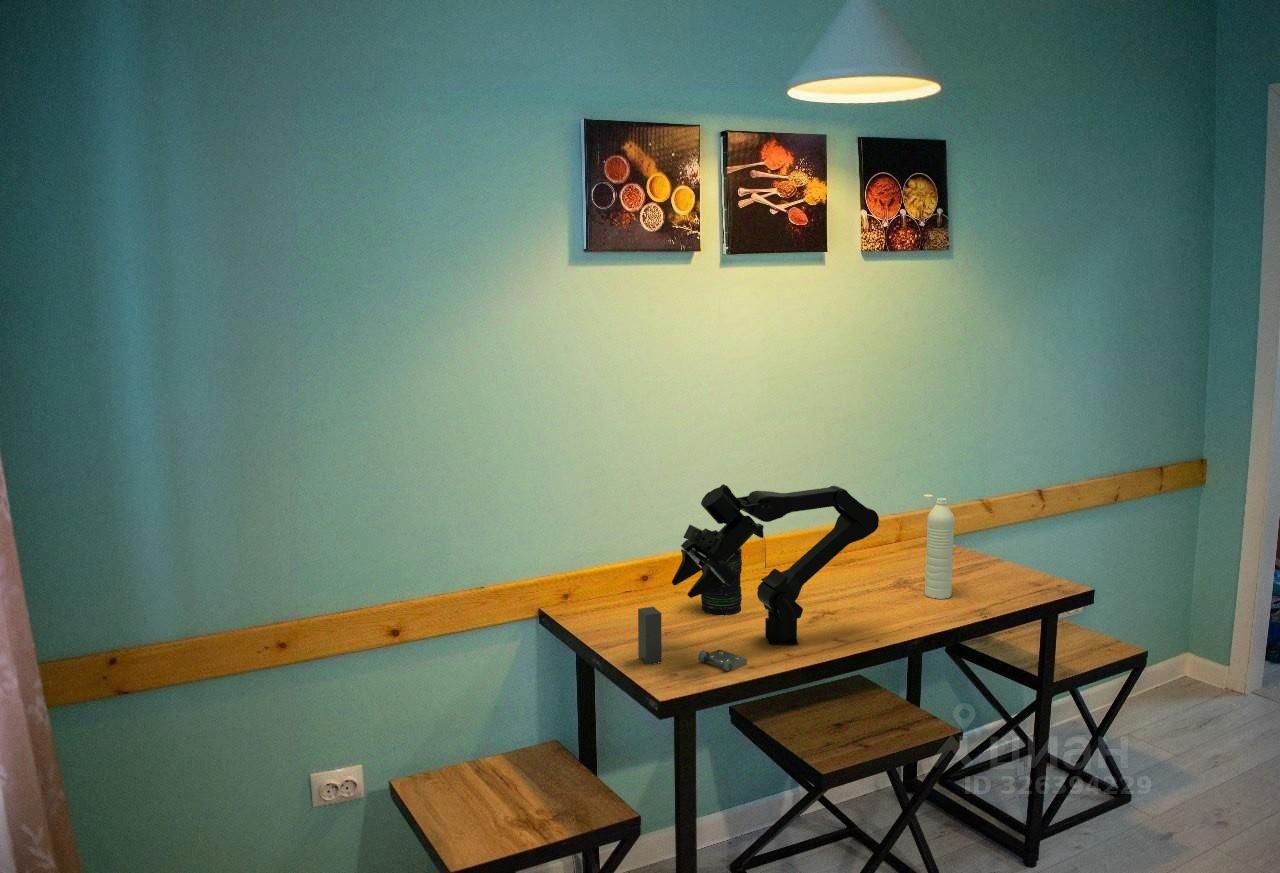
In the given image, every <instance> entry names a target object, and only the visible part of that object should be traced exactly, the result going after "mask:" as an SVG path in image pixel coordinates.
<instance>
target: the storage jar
mask: <svg viewBox="0 0 1280 873" xmlns="http://www.w3.org/2000/svg"><path fill="white" fill-rule="evenodd" d="M738 551H739V552H740V554H739V555H738V556H736V555H733V556H732V557H731V558H730V559H729V560H728V561H727V562H726V563H727V564H728V566H729V567H730V568H731V569H732V570H733V571H734V572H735V573H736V581H735V582H734V583H733V584H732V585H731V586H729V585H727V584H726V583H724V584H725V585H726V586H725V587H720V588H717V589H714V590H711V591H708V592H705V593H703V594H700V600H701V611H702V610H703V611H704V612H703V611H702V612H703V613H704V614H707V613H708V614H707V615H710V614H712V615H711V616H716V615H724V616H723V617H725V615H729V616H733V615H734V616H735V615H737V614H739V613H741V611H742V600H743V595H742V587H741V574H742V570H743V568H742V566H743V559H742V554H743V553H742V551H743V549H742V547H740V549H739V550H738ZM706 566H707V565H706ZM708 567H709V566H708ZM701 568H702V570H701V573H702V574H703V567H701ZM709 568H710V567H709Z"/></svg>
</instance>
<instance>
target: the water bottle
mask: <svg viewBox="0 0 1280 873" xmlns="http://www.w3.org/2000/svg"><path fill="white" fill-rule="evenodd" d="M922 499H923V500H924V501H925V500H926V501H932V500H934V495H933V494H923V495H922ZM935 503H936V504H935V505H934V507H933V508H932V509H931V511H930V512H929V513H928V515H927V528H926V529H927V530H926V531H927V532H926V533H927V534H926V550H925V551H926V556H925V562H926V563H925V579H924V581H925V582H924V583H925V585H924V595H925V596H926V597H927V598H931V599H935V598H936V599H937V600H944V599H946V598H947V599H949V598H951V597H952V591H953V590H952V584H953V579H952V578H953V563H954V562H953V561H954V557H953V556H954V537H955V536H954V535H955V534H954V533H955V516H954V514H953V512H952V510H951V509H950V507H949V506H948V502H947V498H944V497H938V498H936V502H935Z"/></svg>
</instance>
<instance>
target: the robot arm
mask: <svg viewBox="0 0 1280 873" xmlns="http://www.w3.org/2000/svg"><path fill="white" fill-rule="evenodd" d="M700 505H701V506H702V508H704V510H705V511H706V512H707V513H708V514H709V515H710V517H711V518H712V519H713V520H714V521H715V522H716V523H717V524H718V525H722V524H724V526H723V527H722V528H721V529H719V530H716V529H715V530H709V529H708V528H706V527H705V528H704V529H700V528H699V527H696V526H694V525H692V524H689V525H688V527H687V529H686V531H685V533H684V535H683V539H686V540H684V541H683V543H682V544H681V545H680V547H681V550H680V552H681V558H682V559H681V562H680V564H679V566H678V568H677V571H676V572H675V574H674V577H673V578H672V581H671V584H672V585H673V586H677V585H679V584H681V583H682V582H684V581H686V580H688V579H689V578H691V577H693V576H694V575H696V574H698V573H700V572H702V567H703V573H702V574H701V576H700V577H699V578H698V579H697V580H696V582H695V583H694V584H693V586H692V587H691V589H689V591H688V593H687V596H688V597H689V598H690V599H692V598H695V597H697V596H699V595H700V596H701V594H703V593H705V592H708V591H711V590H714V589H717V588H720V587H725V586H726V585H725V584H724V583H726V584H727V585H729V586H731V585H732V584H733V583H734V582H735V581H736V573H735V572H734V571H733V570H732V569H731V568H730V567H729V566H728V564H727V563H726V562H727V561H728V560H729V559H730V558H731V557H732V556H733V555H736V556H738V555H739V554H740V552H739V551H738V550H739V549H740V548H742V547H743V545H744V544H745V543H746V542H747V541H748V540H749V539H751V537H753V535H755V536H756V537H758V538H760V539H763V538H764V537H765V534H764V527H765V526H764V524H761V523H759V522H758V523H756V522H755V520H754V518H755V519H757V520H759V521H760V522H763V523H764V522H765V523H769V522H770V523H771V522H773V521H775V520H778V519H782V518H784V517H785V516H786V515H788V514H791V513H794V512H803V511H810V510H816V509H824V508H831V507H833V509H834V510H835V511H836V513H838V514H839V516H838V517H837V518H836V522H835V524H834V526H833V528H832V530H831V531H829V532H828V533H827V534H826V535H825V536H824V537H822V538H821V539H820V540H819V541H818V542H817V543H816V544H815V545H813V546H812V547H811V548H810V549H809V550H807V551H806V552H805V553H804V554H803V555H802V556H801V557H800V558H799V559H797V561H795V562H794V564H792V565H791V566H790V567H789V568H788V569H786V570H783V571H780V570H779V569H776V568H774V569H771V571H770V572H769V573H768V574H767V576H765V577H763V578H760V580H761V582H760V583H759V585H758V586H757V595H756V596H757V599H758V601H759V602H760V603H762V604H763V607H764V609H765V610H767V617H765V619H764V624H765V625H764V637H765V639H766V640H767V644H769V645H784V646H785V645H786V646H787V645H788V646H789V645H790V646H791V645H792V646H793V645H794V646H796V645H799V641H798V619H800V618H801V617H802V614H803V612H804V608H803V607H802V606H801V605H800V604H799V603H798V602H797V599H798V598H799V597H800V596H799V595H800V593H801V590H802V588H803V586H805V584H806V583H807V582H808V581H809V580H811V579H812V578H813V577H814V576H815V575H816V574H817V573H819V571H821V570H822V569H823V568H824V567H825V566H826V565H828V563H829V562H831V561H832V560H833V559H834V558H835V557H837V555H838V554H840V553H841V552H842V551H843V550H844V549H845V548H846V547H847V546H849V545H850V544H853V543H855V542H859V541H861V540H864V539H865V538H867V537H869V536H871V535H872V534H873V533H875V532H876V531H877V529H878V528H879V525H880V524H879V522H880V518H879V515H878V513H877V512H876V510H874V509H871V508H869V507H867V506H865V505H864V504H862V503H861V502H860V501H859V500H857V499H856V498H854V497H853V496H852V495H851V493H849V492H848V491H847V489H845V488H843V487H840V486H837V485H831V486H828V487H822V488H814V489H807V490H799V491H791V492H775V491H770V490H767V491H766V490H754V491H751V492H750V493H749V494H748V495H746V496H745V495H744V496H740V497H739V496H738V497H737V496H736V495H735V494H734V493H733V491H732V490H731V488H729V486H728V485H727V484H724V483H723V484H721V485H720V486H719V487H716V488H714V489H712V490H711V491H708V492H707V493H706V494H705V495H704V496H703V497H702V500H701V502H700ZM741 511H743V512H744V513H746V514H748V515H744V514H743V513H742V512H741ZM752 517H754V518H752ZM706 565H707V566H706ZM708 566H709V567H710V568H709V567H708Z"/></svg>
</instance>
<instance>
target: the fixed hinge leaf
mask: <svg viewBox="0 0 1280 873" xmlns="http://www.w3.org/2000/svg"><path fill="white" fill-rule="evenodd" d="M697 657H698V658H697V659H698V661H699V662H701V663H703V664H708V665H710V664H711V665H710V666H713V665H714V667H716V668H719V669H722V670H723V671H725V672H730V671H731V672H732V671H734V670H736V669H739V668H741V667H743V666H746V665H747V663H748V658H746V657H744V656H743V657H742V656H740V655H736V654H735V653H731V652H729V651H726V650H722V649H717V650H715V651H711V652H708V651H705V650H701V651H700V652H699V653H698V656H697ZM733 669H734V670H733Z"/></svg>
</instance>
